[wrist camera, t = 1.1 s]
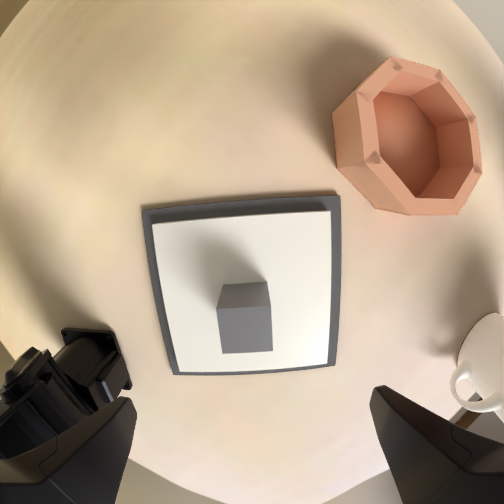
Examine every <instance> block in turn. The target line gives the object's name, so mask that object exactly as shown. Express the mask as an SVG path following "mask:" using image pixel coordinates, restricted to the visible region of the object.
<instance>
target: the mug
mask: <svg viewBox="0 0 504 504" xmlns="http://www.w3.org/2000/svg"><path fill="white" fill-rule="evenodd" d="M457 365H458V367H457V368H456V369H455V370H454V372H453V374H452V376H451V379H450V388H451V392H452V394H453V396H454V397H455V399H456V400H457V401H458V403H459V404H460V405H462V406H463V407H464V408H466V409H468V410H470V411H474V412H489V411H494V412H495V413H496V414H497V415H498V417H499V418H500V419H501V420H502V421H503V422H504V316H503V315H501V314H498V313H491V314H488V315H486V316H485V317H483V318H482V319H481V320H479V321H478V322H477V323H476V325H475V326H474V327H473V328H472V329H471V331H470V332H469V334H468V335H467V337H466V339H465V340H464V342H463V345H462V347H461V349H460V352H459V356H458V364H457ZM462 378H464V379H465V380H466V381H467V382H468V383H469V384H470V385H471V386H472V388H473V389H474V390H475V391H476V392H477V393H478V394H479V395H480V396H481V397H482V398H483V400H482V401H478V402H468V401H465V400H463V399H461V398H460V397H459V396H458V395H457V393H456V384H457V382H458V381H459V380H460V379H462Z"/></svg>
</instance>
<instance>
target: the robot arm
mask: <svg viewBox="0 0 504 504" xmlns="http://www.w3.org/2000/svg"><path fill="white" fill-rule="evenodd" d="M61 334H62V337H63V339H64V342H65V346H64V347H63V348H62V349H61V350H60V351H59V352H58V353H57V354H56V355H55V356H54V357H53V358H52V356H51V355H52V354H51V353H50V351H49V350H48V349H46V350H44V351H42V352H41V351H40V350H37V349H35V348H34V347H31V348H29V349H28V350H27V351H26V352H25V353H23V354H22V355H21V356H20V357H19V358H18V359H17V360H16V361H15V362H14V363H13V365H12V366H11V367H10V368H9V369H8V370H7V372H6V373H5V382H4V384H3V386H2V388H1V390H0V396H1V398H2V399H1V400H0V504H115V500H116V496H117V493H118V489H119V486H120V482H121V479H122V476H123V472H124V469H125V466H126V463H127V459H128V456H129V453H130V449H131V445H132V440H133V435H134V430H135V425H136V420H137V412H136V410H135V407H134V405H133V403H132V400H131V399H130V398H129V397H123V396H120V397H118V395H119V393H120V392H121V390H122V389H124V390H130V389H131V388H132V382H131V380H130V377H129V373H128V370H127V367H126V364H125V361H124V359H123V356H122V354H121V351H120V348H119V345H118V342H117V339H116V336H115V334H114V333H113V332H111V331H101V330H86V329H74V328H64V329H62V330H61ZM109 336H110V337H111V338H110V337H109ZM117 397H118V398H117ZM370 410H371V413H372V417H373V421H374V425H375V428H376V432H377V436H378V439H379V442H380V445H381V447H382V450H383V452H384V455H385V457H386V460H387V462H388V465H389V467H390V470H391V472H392V475H393V478H394V480H395V483H396V486H397V488H398V491H399V494H400V496H401V499H402V502H403V504H504V443H500V442H497V441H494V440H491V439H488V438H485V437H482V436H480V435H477V434H475V433H472V432H470V431H467V430H465V429H463V428H461V427H459V426H457V425H455V424H453V423H451V422H449V421H448V420H446V419H444V418H442V417H440V416H438V415H436V414H435V413H433V412H431V411H429V410H427V409H426V408H424V407H422V406H420V405H418V404H417V403H415V402H413V401H411V400H410V399H408V398H406V397H404V396H403V395H401V394H399V393H397V392H396V391H394V390H392V389H391V388H389V387H387V386H385V385H382V386H377V387H375V388H374V389H373V392H372V396H371V400H370Z"/></svg>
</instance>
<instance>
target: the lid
mask: <svg viewBox="0 0 504 504" xmlns="http://www.w3.org/2000/svg"><path fill="white" fill-rule="evenodd" d="M152 229H153V237H154V244H155V251H156V258H157V265H158V271H159V277H160V283H161V289H162V294H163V300H164V305H165V310H166V315H167V320H168V324H169V329H170V334H171V338H172V342H173V347H174V351H175V355H176V359H177V363H178V367H179V371H180V372H235V371H256V370H271V369H283V368H293V367H303V366H311V365H319V364H326V363H327V357H328V344H329V328H330V306H331V211H328V210H325V211H304V212H286V213H270V214H255V215H241V216H228V217H216V218H205V219H194V220H183V221H173V222H163V223H155V224H153V225H152Z"/></svg>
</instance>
